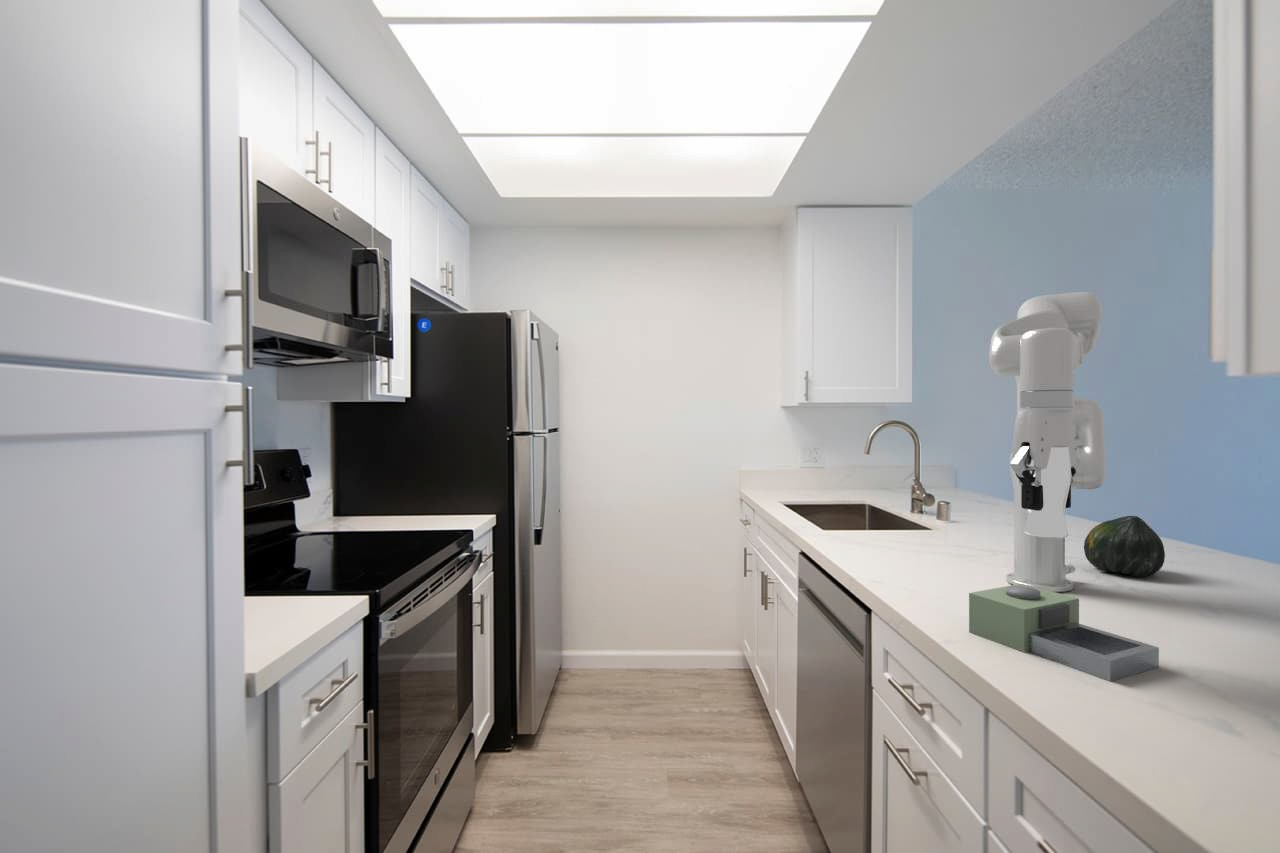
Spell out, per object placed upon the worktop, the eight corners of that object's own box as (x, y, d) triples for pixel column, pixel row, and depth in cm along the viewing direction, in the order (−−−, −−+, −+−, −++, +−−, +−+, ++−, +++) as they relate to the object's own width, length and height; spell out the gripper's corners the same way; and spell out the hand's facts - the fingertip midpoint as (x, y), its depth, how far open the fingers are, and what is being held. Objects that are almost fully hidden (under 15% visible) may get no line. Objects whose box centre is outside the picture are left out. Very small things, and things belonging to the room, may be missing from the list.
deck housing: (1022, 620, 111) (1022, 578, 111) (1082, 640, 102) (1082, 593, 101) (969, 631, 106) (969, 587, 106) (1027, 653, 96) (1027, 604, 96)
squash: (1075, 540, 155) (1089, 502, 146) (1147, 546, 149) (1166, 508, 140) (1085, 586, 146) (1100, 550, 136) (1162, 595, 140) (1184, 558, 130)
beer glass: (1027, 529, 106) (1027, 445, 106) (1075, 534, 101) (1075, 445, 100) (1016, 534, 101) (1015, 446, 101) (1065, 540, 96) (1065, 447, 96)
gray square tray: (1075, 639, 102) (1075, 622, 102) (1158, 666, 91) (1158, 647, 91) (1028, 651, 97) (1028, 633, 97) (1110, 681, 86) (1110, 660, 86)
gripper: (1058, 403, 107) (1058, 502, 107) (989, 402, 101) (989, 508, 101) (1103, 402, 100) (1103, 508, 100) (1032, 401, 94) (1032, 514, 94)
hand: (1046, 507), depth 101 cm, fingers closed on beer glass, 6 cm apart
